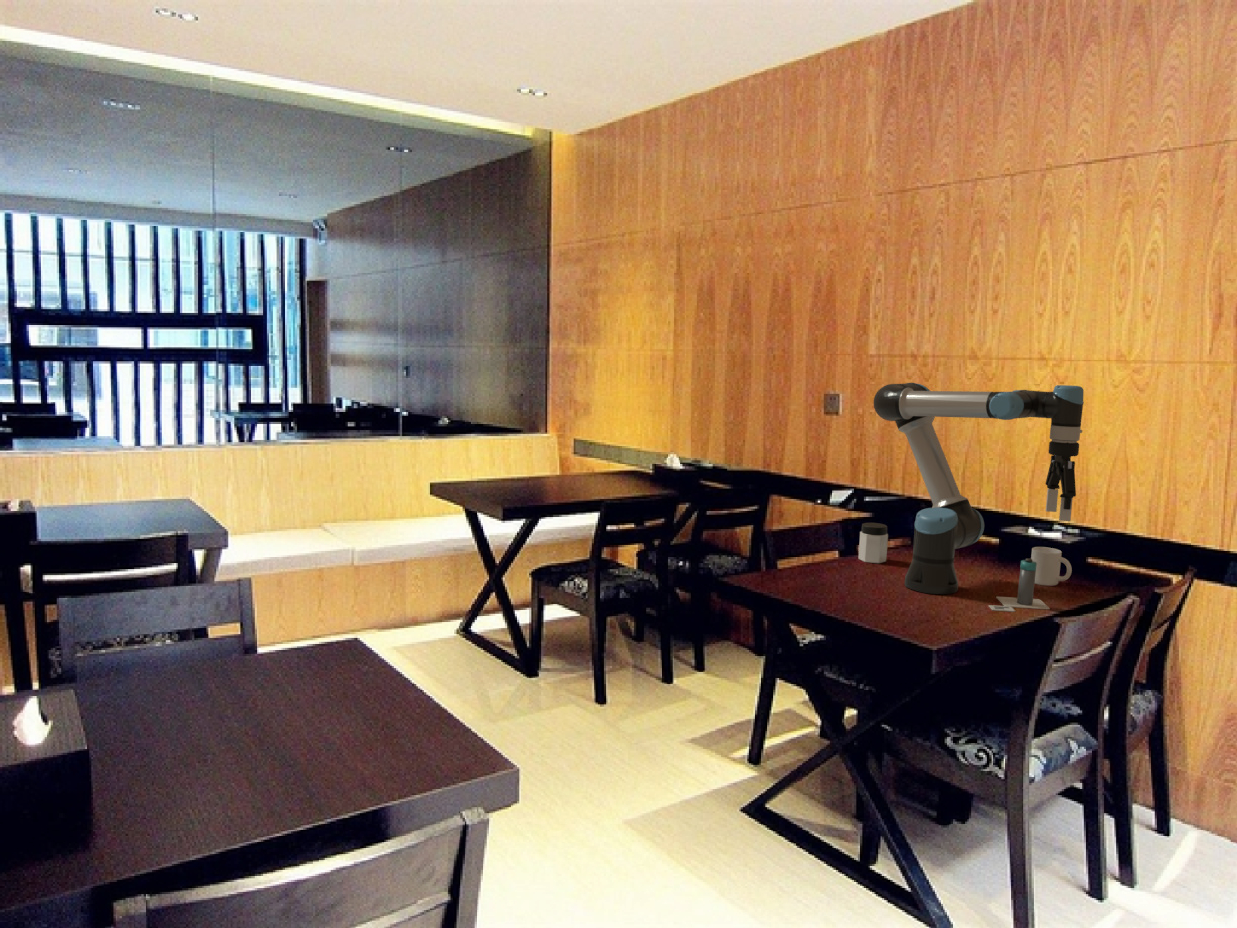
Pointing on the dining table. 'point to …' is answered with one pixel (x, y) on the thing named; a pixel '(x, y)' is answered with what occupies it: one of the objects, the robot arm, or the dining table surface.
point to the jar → (873, 543)
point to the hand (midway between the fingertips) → (1057, 516)
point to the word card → (1001, 608)
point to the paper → (1013, 603)
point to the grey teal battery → (1026, 582)
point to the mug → (1049, 566)
